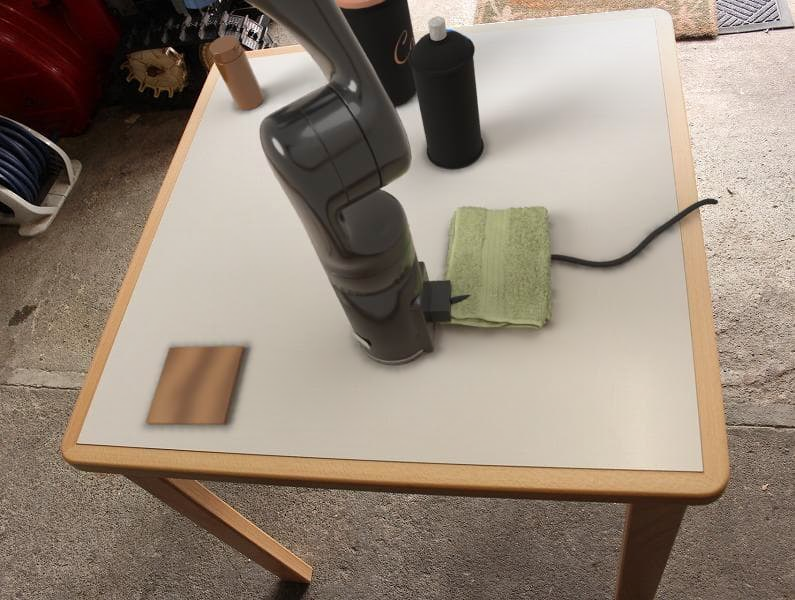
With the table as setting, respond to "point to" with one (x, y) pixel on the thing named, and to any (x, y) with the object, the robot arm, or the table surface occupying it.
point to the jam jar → (237, 72)
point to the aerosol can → (447, 95)
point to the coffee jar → (385, 42)
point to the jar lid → (197, 3)
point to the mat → (196, 386)
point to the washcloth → (500, 267)
